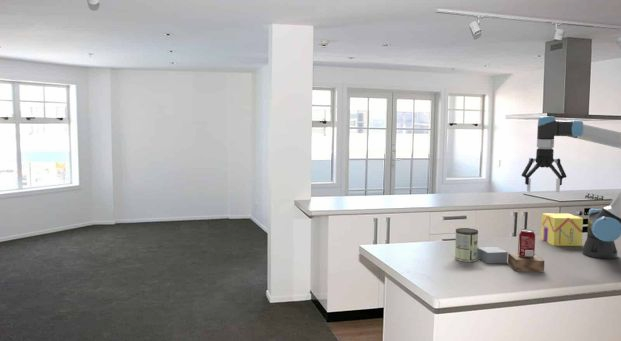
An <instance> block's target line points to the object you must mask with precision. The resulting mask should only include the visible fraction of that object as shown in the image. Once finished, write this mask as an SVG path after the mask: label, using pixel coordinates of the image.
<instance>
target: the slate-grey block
mask: <svg viewBox="0 0 621 341" xmlns="http://www.w3.org/2000/svg"><path fill="white" fill-rule="evenodd" d="M508 253H509V252H508V251H507V250H505V249H503V248H500V247H497V246H488V247H487V246H485V247H483V246H482V247H480V246H479V247H478V246H477V259H479V260H480V261H483V262H484V263H485V264H501V263H502V264H506V263H507V264H508Z"/></svg>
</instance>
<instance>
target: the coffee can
mask: <svg viewBox="0 0 621 341" xmlns="http://www.w3.org/2000/svg"><path fill="white" fill-rule="evenodd" d="M478 233H479V230H478V229H476V228H469V227H459V228H455V247H454V248H455V249H454V251H455V252H454V259H455V260H456V261H460V262H464V263H466V262H467V263H468V262H469V263H473V262H474V263H475V262H477V261H478V258H477V247H478V241H479V240H478V238H479V234H478Z"/></svg>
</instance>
